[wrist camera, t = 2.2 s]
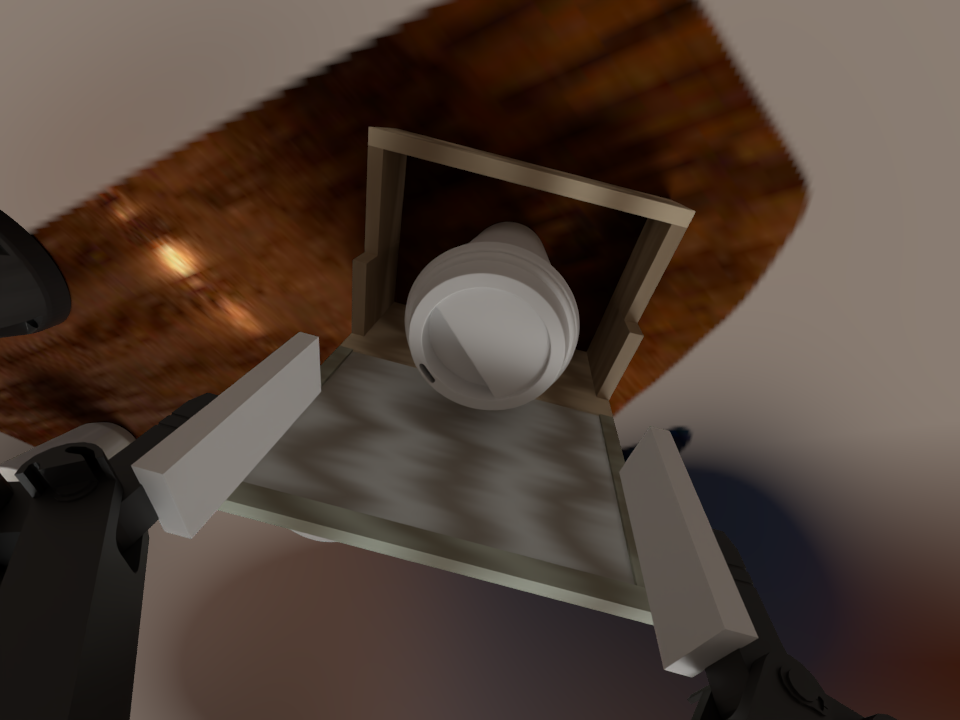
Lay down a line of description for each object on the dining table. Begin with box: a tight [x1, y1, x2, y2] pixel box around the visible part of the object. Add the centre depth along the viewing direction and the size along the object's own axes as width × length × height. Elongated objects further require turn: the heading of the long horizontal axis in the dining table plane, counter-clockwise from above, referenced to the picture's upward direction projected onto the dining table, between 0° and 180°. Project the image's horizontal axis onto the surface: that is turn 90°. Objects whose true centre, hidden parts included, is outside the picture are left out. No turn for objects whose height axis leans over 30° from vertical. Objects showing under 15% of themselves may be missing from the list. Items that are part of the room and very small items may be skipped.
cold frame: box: [218, 127, 696, 625], centre depth 21 cm, size 21×16×22 cm
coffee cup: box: [405, 222, 580, 410], centre depth 24 cm, size 10×10×15 cm
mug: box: [0, 422, 136, 482], centre depth 49 cm, size 14×10×10 cm
